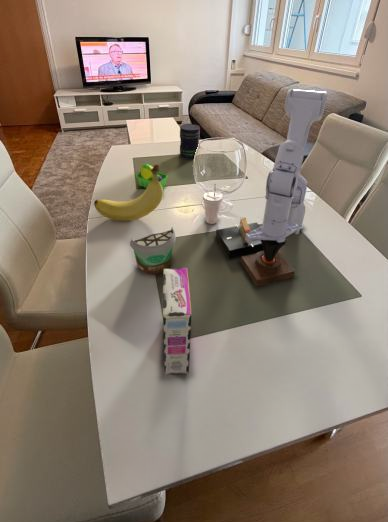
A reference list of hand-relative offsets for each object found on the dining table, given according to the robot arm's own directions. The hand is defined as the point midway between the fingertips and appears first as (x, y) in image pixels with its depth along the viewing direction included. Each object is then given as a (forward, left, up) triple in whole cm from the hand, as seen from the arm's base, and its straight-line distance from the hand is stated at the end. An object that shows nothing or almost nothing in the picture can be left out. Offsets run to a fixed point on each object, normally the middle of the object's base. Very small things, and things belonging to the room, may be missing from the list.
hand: (268, 258), depth 79 cm
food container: (+28, -9, -4) cm, 30 cm away
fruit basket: (+21, -55, -4) cm, 59 cm away
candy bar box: (+29, +14, -4) cm, 32 cm away
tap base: (+1, -12, -4) cm, 13 cm away
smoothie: (+6, -26, -4) cm, 27 cm away
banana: (+32, -35, -4) cm, 48 cm away
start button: (0, 0, -2) cm, 2 cm away
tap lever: (+1, -12, -1) cm, 12 cm away
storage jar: (-4, -83, -4) cm, 83 cm away
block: (0, 0, -4) cm, 4 cm away
